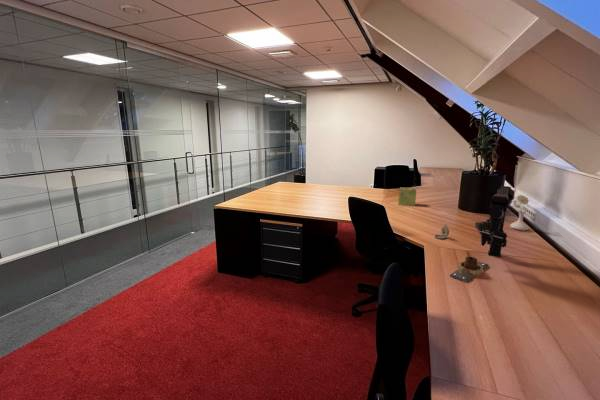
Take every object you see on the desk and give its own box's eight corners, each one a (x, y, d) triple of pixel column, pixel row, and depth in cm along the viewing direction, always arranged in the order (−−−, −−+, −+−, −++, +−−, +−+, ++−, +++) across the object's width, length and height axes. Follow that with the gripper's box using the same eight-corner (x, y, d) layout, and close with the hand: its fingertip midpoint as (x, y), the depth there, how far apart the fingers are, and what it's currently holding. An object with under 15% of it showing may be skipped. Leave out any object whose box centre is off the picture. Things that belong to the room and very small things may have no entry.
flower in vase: (532, 231, 212) (538, 197, 206) (516, 231, 212) (522, 197, 207) (519, 225, 225) (525, 193, 219) (504, 225, 225) (509, 193, 219)
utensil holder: (479, 272, 153) (482, 250, 151) (469, 274, 152) (472, 252, 149) (469, 267, 159) (472, 246, 156) (460, 269, 157) (463, 248, 154)
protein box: (415, 206, 285) (416, 190, 281) (398, 204, 290) (399, 189, 286) (415, 203, 294) (416, 188, 291) (398, 202, 300) (399, 187, 296)
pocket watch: (433, 237, 202) (434, 223, 200) (437, 234, 208) (438, 221, 206) (445, 240, 197) (447, 226, 194) (450, 237, 203) (451, 223, 200)
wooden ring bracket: (470, 260, 167) (470, 255, 166) (491, 267, 159) (492, 262, 158) (446, 275, 151) (447, 269, 150) (469, 283, 142) (470, 278, 142)
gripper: (472, 213, 167) (463, 239, 168) (488, 217, 148) (479, 246, 150) (492, 218, 165) (484, 245, 167) (512, 223, 147) (502, 253, 148)
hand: (486, 247), depth 158 cm, fingers open, 9 cm apart
